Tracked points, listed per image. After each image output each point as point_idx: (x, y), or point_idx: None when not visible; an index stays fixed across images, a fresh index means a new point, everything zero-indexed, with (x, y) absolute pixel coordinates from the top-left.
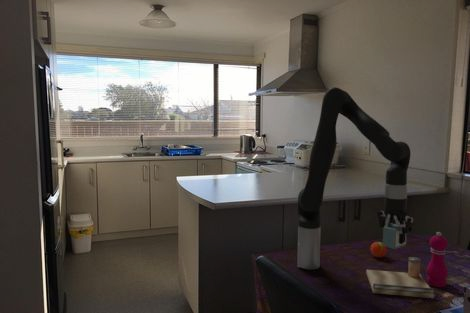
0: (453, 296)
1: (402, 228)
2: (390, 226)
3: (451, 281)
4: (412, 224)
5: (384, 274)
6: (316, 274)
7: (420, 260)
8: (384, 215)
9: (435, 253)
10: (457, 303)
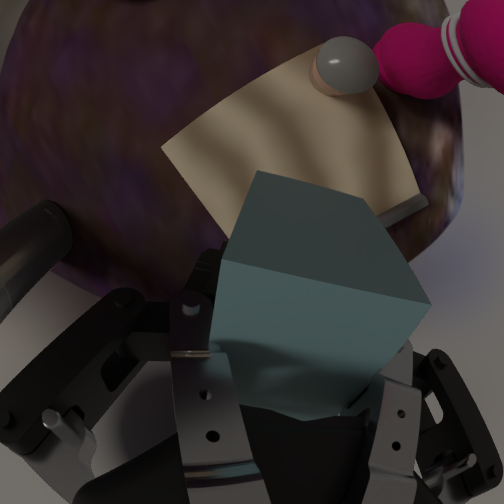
0: (453, 144)
1: (379, 375)
2: (238, 386)
3: (423, 22)
4: (477, 426)
5: (233, 141)
6: (96, 262)
7: (378, 65)
8: (88, 446)
9: (471, 83)
10: (462, 188)
